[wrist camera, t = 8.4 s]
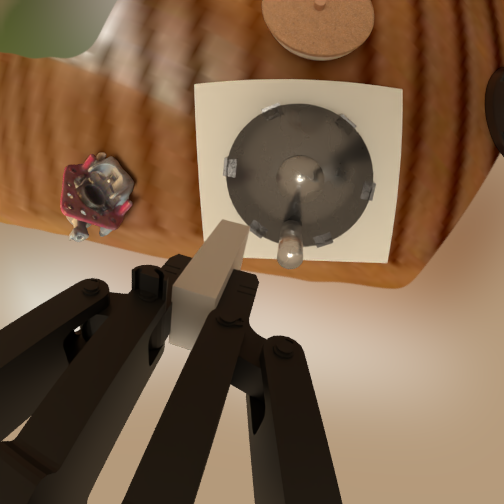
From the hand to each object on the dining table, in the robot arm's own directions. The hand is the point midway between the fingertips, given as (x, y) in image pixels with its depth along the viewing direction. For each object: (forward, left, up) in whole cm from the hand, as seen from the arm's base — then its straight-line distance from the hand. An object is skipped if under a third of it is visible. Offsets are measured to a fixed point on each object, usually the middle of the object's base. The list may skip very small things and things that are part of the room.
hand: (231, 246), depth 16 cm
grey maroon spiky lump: (+23, +1, -22) cm, 32 cm away
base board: (-4, 0, -22) cm, 22 cm away
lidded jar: (-6, -18, -22) cm, 29 cm away
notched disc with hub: (-4, 0, -20) cm, 20 cm away
